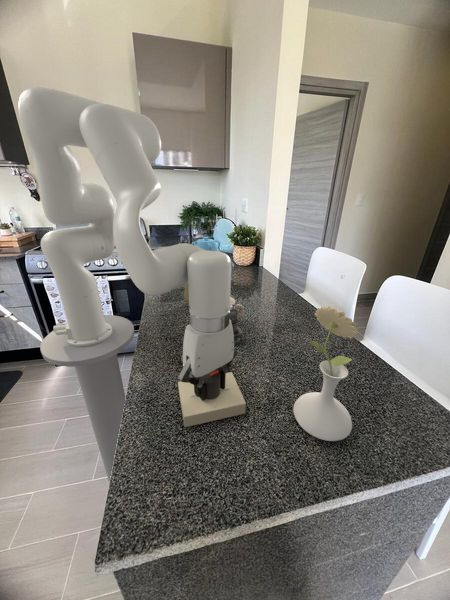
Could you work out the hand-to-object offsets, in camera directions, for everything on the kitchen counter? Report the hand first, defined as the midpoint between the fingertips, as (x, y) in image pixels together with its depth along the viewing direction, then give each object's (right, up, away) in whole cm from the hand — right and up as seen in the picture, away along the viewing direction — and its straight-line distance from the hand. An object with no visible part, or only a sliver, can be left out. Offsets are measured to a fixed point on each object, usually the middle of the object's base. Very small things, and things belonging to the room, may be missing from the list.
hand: (210, 390), depth 55 cm
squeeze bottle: (-9, +17, +45) cm, 49 cm away
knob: (0, 0, 0) cm, 0 cm away
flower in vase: (+23, -5, -2) cm, 24 cm away
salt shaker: (+5, +7, +24) cm, 25 cm away
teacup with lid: (+4, +11, +33) cm, 35 cm away
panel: (0, -3, +1) cm, 4 cm away
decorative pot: (-9, +47, +108) cm, 118 cm away
